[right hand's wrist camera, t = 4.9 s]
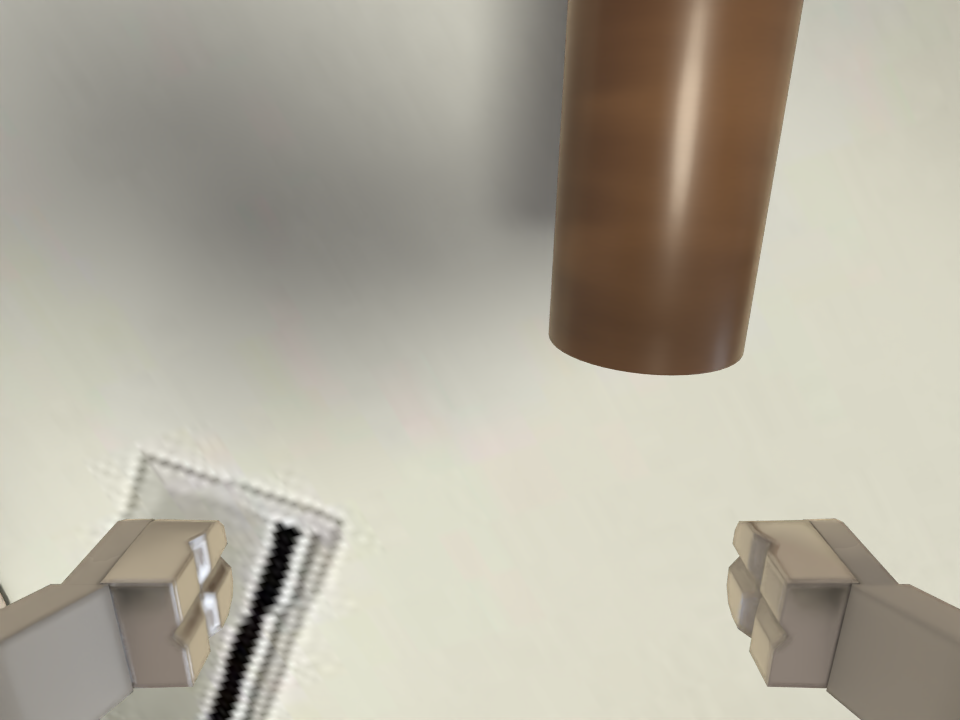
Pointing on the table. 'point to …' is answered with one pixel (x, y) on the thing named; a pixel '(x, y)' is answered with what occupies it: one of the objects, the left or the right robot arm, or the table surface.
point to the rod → (666, 177)
